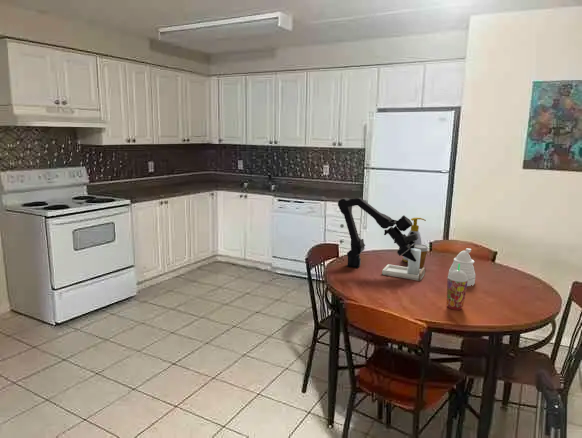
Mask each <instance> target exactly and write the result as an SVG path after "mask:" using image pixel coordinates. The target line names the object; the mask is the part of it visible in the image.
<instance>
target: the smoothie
mask: <svg viewBox="0 0 582 438" xmlns="http://www.w3.org/2000/svg"><path fill="white" fill-rule="evenodd" d="M446 280H447V283H446V287H447V288H446V305H447V308H449V309H450V310H453V311H460V310H462V308H463V307H464V303H465V298H466V292H467V287H468V286H467V283H468V278H467V276H466V274H465V272H463V271H462V270H460V264H458V270H453V271H452V272H451V273H450V274H449V273H448V274H447V279H446Z"/></svg>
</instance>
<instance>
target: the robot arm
mask: <svg viewBox="0 0 582 438" xmlns="http://www.w3.org/2000/svg"><path fill="white" fill-rule="evenodd" d="M337 206H338V209H339V210H340V212H341V213H342V215H343V217H344V219H345V223H346V227H347V230H348V234H349V236H350V237H349V238H350V250H349V251H348V252H347V253H346V254H347V255H346V256H347V265H346V267H348V268H353V269H354V268H355V269H358V268H359V267H360V266H361V265H362V264H361V262H362V261H361V260H362V258H361V255H362V254H361V253H362V252H364V251H365V246H366V244H365V240H364V239H363V238H362V239H361V238H360V236H359V233H358V230H357V226H356V222H355V220H354V215H353V207H354V206H358V207H359V208H360V209H361V210H363V211H364V212H366V214H368V216H370V217H371V218H373V219H374V221H375V222H376V224H378V226H379V227H380V228H381V229H384V233H383V235H384V236H386V235H389V236H390V238H392V240H393V244H396V245H397V246H398V250H397V252H396V253H397V255H398V256H399V257H400V256H401V257H403V256H404V257H406V258H408V259H410V260H412V261H414V262H415V261H416V259H415V257H414V256H413V254H412V252H411V248H415V244H414V245H412V244H413V243H415V240H417V239H418V236H417V234H416V233H415V232H414V231H413V232H411V233H410V235H408V234H407V235H406V234H405V233H402V232H406V231H407V230H408V229H409V228H411V226H412V225H413V222H412V220H411V219H410V218H408V217H407V216H406V215H402V216H401V217H400V218H398V219H397V220H396V219H393V218H391V217H390V216H389V215H386V214H384V213H382V212H380V211H379V210H377V209H376V208H375V207H374V206H372V205H371V204H370V203H368V202H367V201H365V200H364V199H363V197H357V198H355V197H354V198H349V197H344V198H341V199H339V201H338V202H337Z"/></svg>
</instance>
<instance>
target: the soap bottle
mask: <svg viewBox="0 0 582 438" xmlns="http://www.w3.org/2000/svg"><path fill="white" fill-rule="evenodd" d="M418 220H422V221H424V222H426V219H424V218H422V217H412V218H411V219H410V221H411V222H412V221H413V222H412V224H413V225H412V226H411V227H410V231H408V234H407V236H408V235H410V233H411V232H413V231H414V232H415V233H416V234H417V236H418V239H417V240H415V243H413V244H422V237H421V233H420V231H419V229H420V226H419V225H418ZM413 244H412V245H413ZM402 262H405V263H407V264H408V258H406V257H404V256H402Z"/></svg>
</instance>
